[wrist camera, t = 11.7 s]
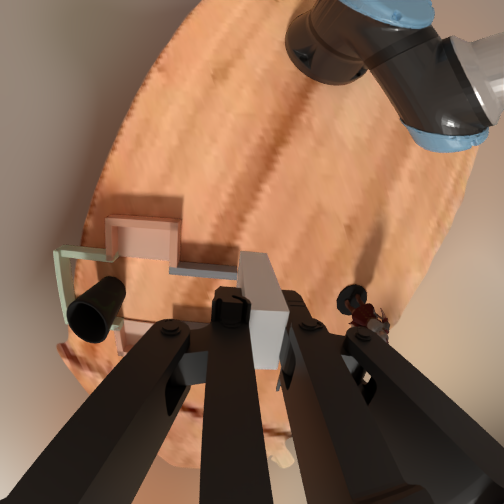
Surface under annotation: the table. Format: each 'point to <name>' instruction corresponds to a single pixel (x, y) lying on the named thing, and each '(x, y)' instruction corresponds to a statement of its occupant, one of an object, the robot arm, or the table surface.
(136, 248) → the track
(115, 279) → the cup
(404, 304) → the table surface
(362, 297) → the figurine
